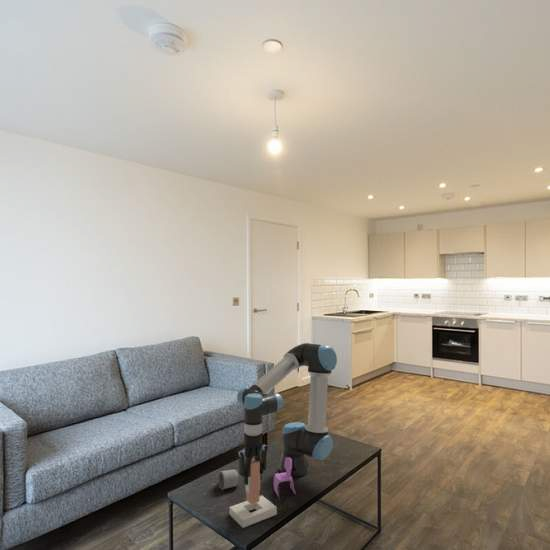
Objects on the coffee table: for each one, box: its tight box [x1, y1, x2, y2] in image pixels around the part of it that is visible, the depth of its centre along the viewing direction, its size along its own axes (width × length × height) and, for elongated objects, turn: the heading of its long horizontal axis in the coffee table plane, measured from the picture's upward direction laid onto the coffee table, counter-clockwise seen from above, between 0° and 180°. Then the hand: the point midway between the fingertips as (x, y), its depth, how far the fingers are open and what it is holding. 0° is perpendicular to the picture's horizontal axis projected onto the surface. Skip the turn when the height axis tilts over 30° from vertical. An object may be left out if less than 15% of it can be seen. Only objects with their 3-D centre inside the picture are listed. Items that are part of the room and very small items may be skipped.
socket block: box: [228, 495, 278, 529], centre depth 163 cm, size 16×11×3 cm
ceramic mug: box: [217, 469, 240, 491], centre depth 187 cm, size 11×8×8 cm
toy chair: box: [273, 457, 297, 498], centre depth 181 cm, size 8×9×15 cm
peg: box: [245, 457, 261, 504], centre depth 163 cm, size 4×4×16 cm
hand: (252, 490), depth 163 cm, fingers closed on peg, 4 cm apart
